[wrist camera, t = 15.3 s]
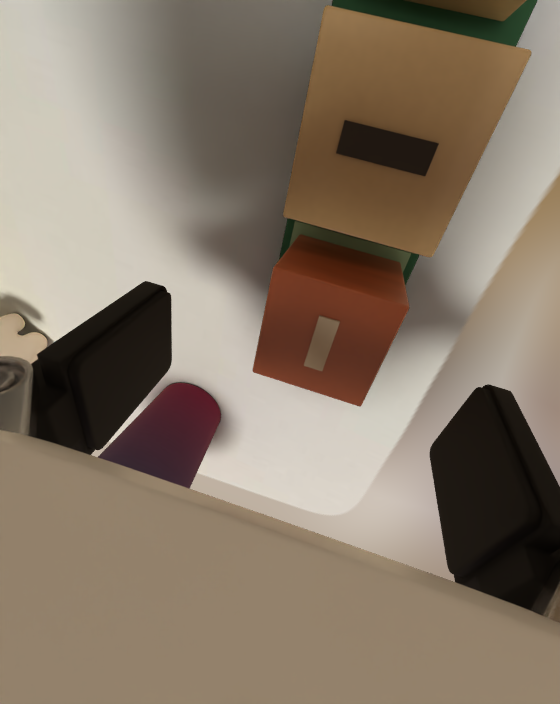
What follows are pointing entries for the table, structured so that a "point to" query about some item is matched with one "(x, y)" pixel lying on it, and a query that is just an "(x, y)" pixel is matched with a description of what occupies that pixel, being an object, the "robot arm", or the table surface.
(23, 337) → the elephant figurine
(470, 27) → the green tile rack
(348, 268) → the slotted orange cube
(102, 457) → the cup
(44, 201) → the table surface
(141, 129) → the table surface
